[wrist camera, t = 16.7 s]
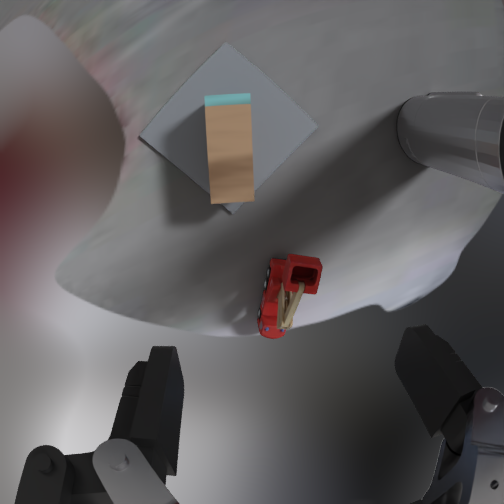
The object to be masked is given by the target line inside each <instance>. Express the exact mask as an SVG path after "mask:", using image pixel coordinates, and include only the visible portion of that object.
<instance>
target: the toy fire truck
mask: <svg viewBox="0 0 504 504" xmlns="http://www.w3.org/2000/svg"><path fill="white" fill-rule="evenodd" d="M321 272H322V264H321V262H320V259H319V258H316V257H308V256H302V255H295V254H288V257H287V260H282V259H273V258H272V259H271V260H270V267H269V268H268V269H267V278H268V279H266V280H265V282H264V289H265V290H264V292H263V296H262V301H261V306H260V307H261V308H259V310H258V319H257V323H258V327H259V332H260V334H261V335H262V336H264V337H267V338H271V339H275V338H279V337H282V336H284V334H285V331H286V330H287V329H290V328H291V327H292V324H293V316H294V313H295V311H296V309H297V306H298V304H299V301H300V299H301V296H302V294H303V293H307V294H316V293H317V289H318V286H319V281H320V278H321Z"/></svg>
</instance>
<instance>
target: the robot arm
mask: <svg viewBox="0 0 504 504" xmlns="http://www.w3.org/2000/svg"><path fill="white" fill-rule="evenodd" d="M397 133H398V138H399V142H400V144H401V147H402V148H403V150H404V152H405V153H406V154H407V156H408V157H409V158H410V159H412V160H413V161H414V162H417V163H419V164H422V165H425V166H428V167H431V168H435V169H437V170H440V171H443V172H446V173H449V174H452V175H455V176H458V177H461V178H464V179H467V180H469V181H472V182H475V183H477V184H480V185H483V186H485V187H488V188H490V189H493V190H495V191H498V192H500V193H503V194H504V97H498V96H482V95H481V94H480V93H479V92H433V93H430V94H429V95H428V96H417V97H413V98H411V99H410V100H408V101H407V102H406V103H405V104H404V105H403V107H402V109H401V110H400V113H399V116H398V121H397ZM395 370H396V373H397V375H398V377H399V379H400V380H401V382H402V384H403V386H404V387H405V390H406V391H407V393H408V395H409V397H410V399H411V400H412V402H413V404H414V406H415V408H416V410H417V412H418V413H419V415H420V417H421V419H422V421H423V423H424V425H425V427H426V429H427V431H428V433H429V434H430V436H431V438H433V437H436V436H438V435H441V434H443V435H444V437H445V438H444V439H443V441H442V443H441V447H440V451H439V456H438V460H437V464H436V468H435V472H434V475H433V479H432V482H431V485H430V487H429V489H428V490H427V492H426V493H425V495H424V496H423V498H422V500H418V501H416V502H413V503H411V504H504V396H503V395H502V393H501V392H499V391H498V390H496V389H494V388H491V387H484V388H482V386H481V385H480V384H479V382H478V381H477V380H476V378H475V377H474V376H473V374H472V373H471V372H470V370H469V369H468V368H467V366H466V365H465V364H464V362H463V361H461V359H460V357H459V356H458V355H457V354H455V351H454V350H453V349H452V347H451V346H450V345H449V343H448V342H446V341H445V340H443V339H442V338H441V337H439V336H437V335H435V334H434V333H433V331H432V330H431V329H430V328H429V327H428V326H427V325H418V326H413V327H408V328H406V330H405V331H404V334H403V337H402V340H401V343H400V346H399V349H398V352H397V355H396V358H395ZM183 399H184V380H183V375H182V371H181V366H180V362H179V358H178V354H177V349H176V347H175V346H153V347H152V349H151V352H150V356H149V359H148V362H147V361H146V362H145V361H138V362H137V363H136V364H135V366H134V367H133V368H132V369H131V370H130V371H129V373H128V376H127V379H126V382H125V387H124V389H123V392H122V397H121V399H120V403H119V406H118V410H117V413H116V417H115V421H114V424H113V428H112V432H111V435H110V437H109V439H108V440H107V441H105V442H104V443H102V444H100V445H99V446H98V448H97V449H96V450H95V451H93V452H90V453H82V454H72V455H63V454H62V452H61V451H60V450H59V449H57V448H55V447H53V446H49V445H43V446H39V447H37V448H35V449H33V451H31V452H30V454H29V455H28V457H27V459H26V463H25V466H24V469H23V473H22V476H21V480H20V484H19V487H18V491H17V496H16V500H15V504H179V502H178V501H177V500H176V499H175V498H174V497H173V495H172V494H171V493H170V491H169V490H168V489H167V488H166V486H165V484H166V475H173V476H176V473H177V460H178V449H179V437H180V428H181V418H182V408H183Z"/></svg>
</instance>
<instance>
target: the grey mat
mask: <svg viewBox="0 0 504 504" xmlns="http://www.w3.org/2000/svg"><path fill="white" fill-rule="evenodd" d="M243 93H250V98H251V123H252V149H253V175H254V192H255V191H256V190H257V189H258V188H259V187H260V186H261V184H262V183H263V182H264V181H265V180H266V179H267V178H268V177H269V176H270V175H271V174H272V173H273V172H274V171H275V170H276V169H277V168H278V167H279V166H280V165H281V164H282V163H283V162H284V161H285V160H286V159H287V158H288V157H289V156H290V155H291V154H292V153H293V152H294V151H295V150H296V149H297V148H298V147H299V146H300V145H301V144H302V143H303V142H304V141H305V140H306V139H307V138H308V137H309V136H310V135H311V134H312V133H313V132H314V131H315V130H316V129H317V128H318V127H319V126H318V124H317V123H316V122H315V121H314V120H313V119H312V118H311V117H310V116H309V115H308V114H307V113H306V112H305V111H304V110H303V109H302V108H301V107H300V106H299V105H298V104H296V103H295V102H294V101H293V100H292V99H291V98H290V97H289V96H288V95H287V94H286V93H285V92H284V91H283V90H282V89H281V88H280V87H278V86H277V85H276V84H275V83H274V82H273V81H272V80H271V79H270V78H269V77H267V76H266V75H265V74H264V73H263V72H262V71H261V70H259V69H258V68H257V67H256V66H255V65H254V64H252V63H251V62H250V61H249V60H248V59H246V58H245V57H244V56H243V55H242V54H240V53H239V52H238V51H237V50H235V49H234V48H233V47H232V46H230V45H229V44H228V43H227V42H225V43H224V44H223V45H222V46H221V47H220V48H219V49H218V50H217V51H216V52H215V53H214V54H213V55H212V56H211V57H209V58H208V59H207V60H206V61H205V62H204V63H203V64H202V65H201V66H200V67H199V68H198V69H197V70H196V72H195V73H194V74H193V75H192V76H191V77H190V78H189V79H188V80H187V81H186V82H185V83H184V84H183V85H182V86H181V87H180V88H179V90H178V91H177V92H176V93H175V94H174V95H173V96H172V97H171V98H170V100H169V101H168V102H167V103H166V104H165V105H164V106H163V108H162V109H161V110H160V111H159V112H158V114H157V115H156V116H155V117H154V118H153V120H152V121H151V122H150V123H149V124H148V126H147V127H146V128H145V129H144V131H143V132H142V133H141V134H140V137H141V138H143V139H144V140H145V141H146V142H148V143H149V144H150V145H151V146H152V147H154V148H155V149H156V150H157V151H158V152H160V153H161V154H162V155H163V156H164V157H166V158H167V159H168V160H169V161H170V162H172V163H173V164H174V165H175V166H176V167H178V168H179V169H180V170H181V171H182V172H184V173H185V174H186V175H187V176H188V177H190V178H191V179H192V180H193V181H194V182H195V183H197V184H198V185H199V186H200V187H201V188H203V189H204V190H205V191H206V192H207V193H209V194H210V182H209V168H208V153H207V136H206V118H205V98H204V96H209V95H223V94H243ZM243 203H244V202H233V203H220V204H222V205H223V206H224V207H225V208H226V209H227V210H229V211H230V212H231V213H232V214H234V213H235V212H236V211H237V210H238V209H239V208H240V207H241V205H242V204H243Z"/></svg>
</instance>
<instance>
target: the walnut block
mask: <svg viewBox="0 0 504 504" xmlns="http://www.w3.org/2000/svg"><path fill="white" fill-rule="evenodd" d="M204 98H205V118H206V136H207V153H208V168H209V182H210V195H211V204H218V203H233V202H250V201H254V175H253V149H252V123H251V98H250V93H243V94H223V95H209V96H204Z"/></svg>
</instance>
